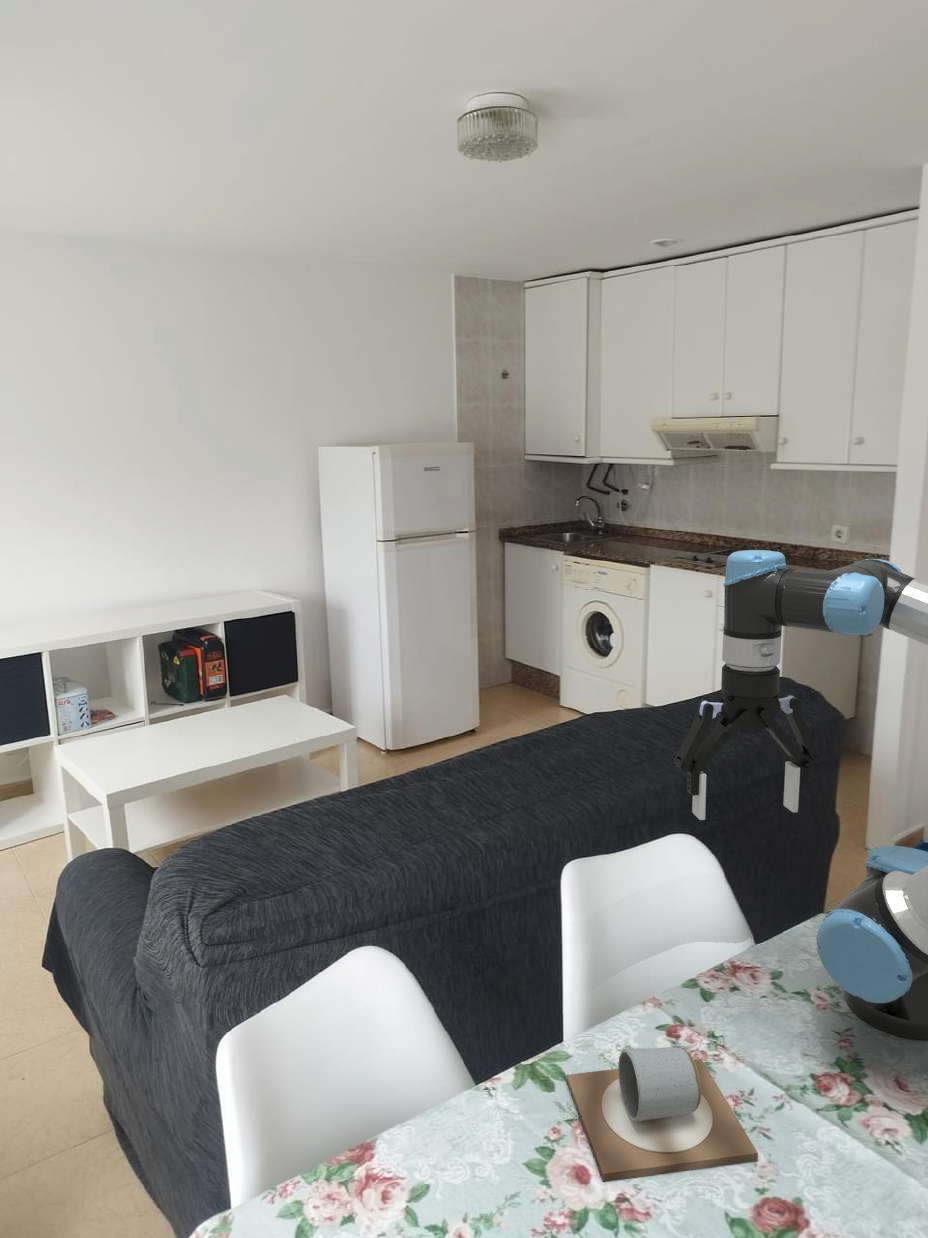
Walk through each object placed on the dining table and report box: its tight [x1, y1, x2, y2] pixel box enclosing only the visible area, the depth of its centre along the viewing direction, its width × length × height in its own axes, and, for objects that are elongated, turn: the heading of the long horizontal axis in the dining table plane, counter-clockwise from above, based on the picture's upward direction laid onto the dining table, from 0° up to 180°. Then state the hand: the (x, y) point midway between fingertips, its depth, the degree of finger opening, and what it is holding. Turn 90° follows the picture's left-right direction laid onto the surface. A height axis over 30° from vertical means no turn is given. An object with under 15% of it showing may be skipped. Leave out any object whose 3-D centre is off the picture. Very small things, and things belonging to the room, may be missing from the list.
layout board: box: [565, 1058, 759, 1182], centre depth 107 cm, size 18×16×1 cm
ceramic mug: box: [617, 1046, 701, 1122], centre depth 108 cm, size 11×8×8 cm
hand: (744, 812), depth 125 cm, fingers open, 13 cm apart
